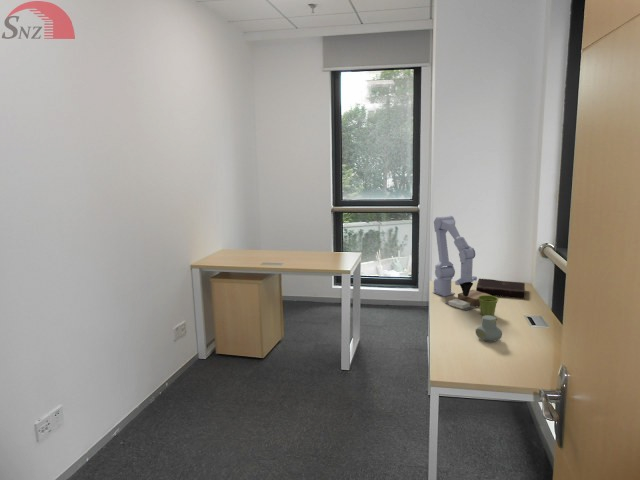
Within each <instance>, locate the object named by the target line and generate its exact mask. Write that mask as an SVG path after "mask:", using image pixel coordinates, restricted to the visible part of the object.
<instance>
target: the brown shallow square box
mask: <svg viewBox="0 0 640 480" xmlns="http://www.w3.org/2000/svg"><path fill="white" fill-rule="evenodd" d="M482 295H489V294H486V293H483V292H479V291H476V289H470V291H469V294H468V296H463V292H460V293H457V299H459V300H462V301H465V302H468V303H470V305H472V306H475V307H477V308H478V307H480V302H479V299H478V297H479V296H482ZM490 296H491V295H490Z"/></svg>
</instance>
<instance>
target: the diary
mask: <svg viewBox="0 0 640 480" xmlns="http://www.w3.org/2000/svg"><path fill="white" fill-rule="evenodd" d="M525 285H526V283H525V282H521V281H519V282H518V281H505V280H499V279H492V278H491V279H490V278H478V281H477V283H476V287H475V288H476V289H475V290H476V291H479V292H483V293H486V294H489V295H492V296H495V297H501V296H502V297H504V298H513V297H514V298H516V299H525V296H526V295H525V294H526V289H525V288H526V287H525Z"/></svg>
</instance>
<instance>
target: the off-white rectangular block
mask: <svg viewBox="0 0 640 480" xmlns="http://www.w3.org/2000/svg"><path fill="white" fill-rule="evenodd" d="M448 302H449V305H448V306H451V307H454V308H457V309H460V310H463V309H464V308H467V307H470V303H468V302H465V301H462V300H459V299H458V298H453V299H450V300H448Z"/></svg>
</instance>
